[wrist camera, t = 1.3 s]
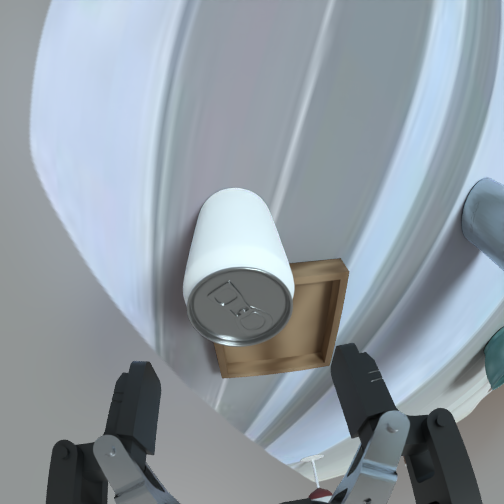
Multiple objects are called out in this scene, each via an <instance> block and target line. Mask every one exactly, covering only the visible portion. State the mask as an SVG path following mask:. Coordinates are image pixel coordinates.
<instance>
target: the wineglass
mask: <svg viewBox="0 0 504 504" xmlns="http://www.w3.org/2000/svg"><path fill="white" fill-rule="evenodd" d="M322 457H324V455H313V456H309V457H306V458H303V459H301V460H300V461H301V462H310V461H312V466H313V470H314V475H315V480H316V485H317V489H316V490H315V491H314V492H312V493H311V494H310V495H309V498H311V500H316V501H323V502H327V503H328V502H329V500H330V499H331V497H332V493H331V492H330V491H328V490H325V489H321V488H320V487H319V483H318V477H317V473H316V468H315V463H314V460H318V459H320V458H322Z"/></svg>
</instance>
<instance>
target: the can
mask: <svg viewBox="0 0 504 504" xmlns="http://www.w3.org/2000/svg"><path fill="white" fill-rule="evenodd" d="M293 295H294V280H293V275H292V272H291V268H290V265H289V262H288V260H287V257H286V254H285V251H284V248H283V246H282V243H281V240H280V237H279V235H278V232H277V229H276V227H275V224H274V221H273V219H272V216H271V214H270V211H269V209H268V207H267V205H266V204H265V202H264V201H263V200H262V199H261V198H260V197H259V196H258V195H256V194H255V193H253V192H251V191H249V190H246V189H241V188H229V189H224V190H221V191H219V192H217V193H215V194H213V195H212V196H211V197H210V198H208V199H207V201H206V202H205V203H204V205H203V206H202V208H201V210H200V213H199V216H198V220H197V224H196V228H195V231H194V235H193V240H192V244H191V248H190V252H189V257H188V261H187V266H186V271H185V276H184V282H183V296H184V300H185V303H186V306H187V315H188V318H189V321H190V323H191V324H192V326H193V327H194V329H195V330H196V331H197V332H198V333H199V334H200V335H202V336H203V337H205V338H206V339H208V340H210V341H212V342H214V343H217V344H220V345H225V346H231V347H245V346H252V345H256V344H259V343H262V342H265V341H267V340H269V339H271V338H272V337H274V336H276V335H277V334H278V333H279V332H280V331H282V330H283V328H284V327H285V326H286V325H287V323H288V322H289V320H290V318H291V315H292V311H293Z"/></svg>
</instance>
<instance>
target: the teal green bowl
mask: <svg viewBox="0 0 504 504" xmlns="http://www.w3.org/2000/svg"><path fill="white" fill-rule="evenodd" d="M484 354H485V369H486V375H487V378H488V380H489V383H490V384H491V388H492V390H494V389H497V388H498V387H500V386H501V385H502V384H503V383H504V327H503V328H502V329H500V330H499V331H498V332H497V333H496V334H495V335H494V336H493V337H492V339H491V340H490V341H489V343H488V344H487V345H486V347H485V349H484Z"/></svg>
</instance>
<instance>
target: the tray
mask: <svg viewBox="0 0 504 504" xmlns="http://www.w3.org/2000/svg"><path fill="white" fill-rule="evenodd" d="M289 265H290V268H291V272H292V275H293V280H294V295H293V311H292V315H291V318H290V320H289V322H288V323H287V325H286V326H285V327H284V328H283V330H282V331H280V332H279V333H278V334H277V335H276V336H274V337H272V338H271V339H269V340H267V341H265V342H262V343H259V344H256V345H252V346H245V347H231V346H225V345H220V344H217V343H214V346H215V351H216V355H217V359H218V363H219V367H220V371H221V376H222V378H235V377H248V376H259V375H268V374H277V373H285V372H292V371H299V370H306V369H312V368H318V367H324V366H329V365H330V361H331V358H332V354H333V349H334V345H335V341H336V337H337V332H338V328H339V323H340V319H341V314H342V309H343V304H344V299H345V293H346V288H347V282H348V276H349V271H348V269H347V267H346V266H345V264H344V263H343V261H342V260H341V258H340V259H330V260H319V261H309V262H299V263H289Z"/></svg>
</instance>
